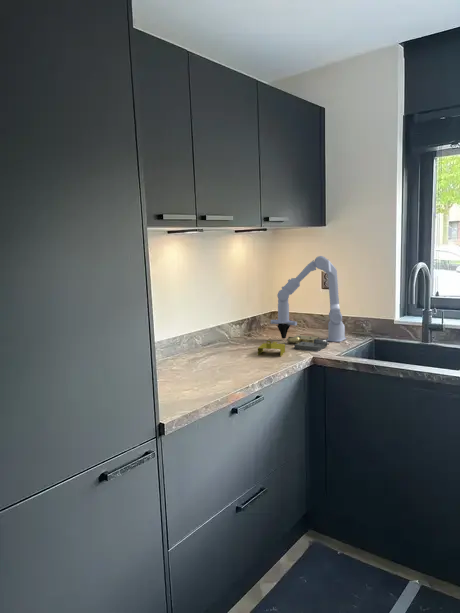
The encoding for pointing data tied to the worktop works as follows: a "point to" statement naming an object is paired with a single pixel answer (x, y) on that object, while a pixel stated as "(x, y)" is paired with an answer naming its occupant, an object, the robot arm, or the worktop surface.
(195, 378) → the worktop surface
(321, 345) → the fixed leaf
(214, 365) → the worktop surface
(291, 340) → the brass plate
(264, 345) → the bracket
